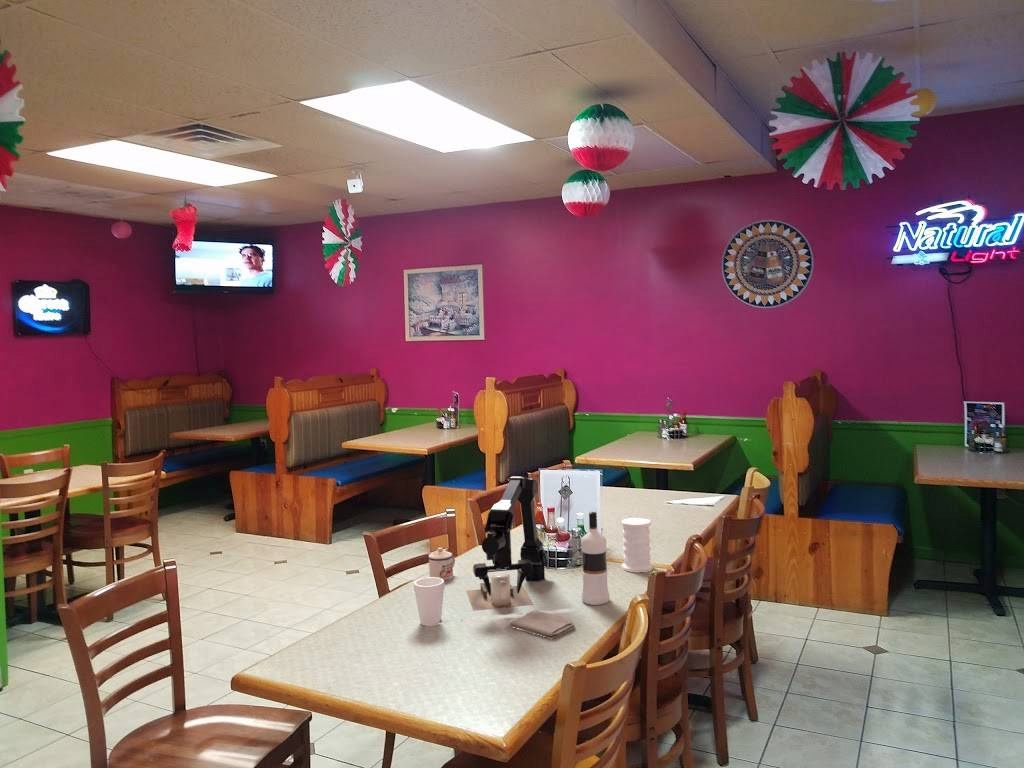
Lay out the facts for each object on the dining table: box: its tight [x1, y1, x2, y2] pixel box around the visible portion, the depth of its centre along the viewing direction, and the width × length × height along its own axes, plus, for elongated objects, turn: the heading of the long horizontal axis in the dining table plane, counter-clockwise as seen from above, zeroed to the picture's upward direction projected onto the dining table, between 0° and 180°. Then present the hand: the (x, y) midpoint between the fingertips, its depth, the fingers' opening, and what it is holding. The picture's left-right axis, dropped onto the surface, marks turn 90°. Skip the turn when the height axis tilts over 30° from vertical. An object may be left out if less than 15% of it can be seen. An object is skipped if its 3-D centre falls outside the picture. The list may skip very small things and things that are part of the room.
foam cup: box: [413, 576, 445, 627], centre depth 239 cm, size 10×9×13 cm
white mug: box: [489, 572, 511, 606], centre depth 250 cm, size 10×6×9 cm, turn 10°
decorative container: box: [620, 517, 654, 573], centre depth 286 cm, size 12×12×18 cm
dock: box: [466, 581, 534, 611], centre depth 257 cm, size 20×20×4 cm
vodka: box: [580, 511, 611, 606], centre depth 252 cm, size 9×9×30 cm
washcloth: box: [508, 609, 576, 640], centre depth 231 cm, size 12×18×3 cm, turn 49°
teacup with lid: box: [427, 547, 456, 581], centre depth 283 cm, size 12×9×12 cm
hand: (503, 594), depth 245 cm, fingers open, 9 cm apart
